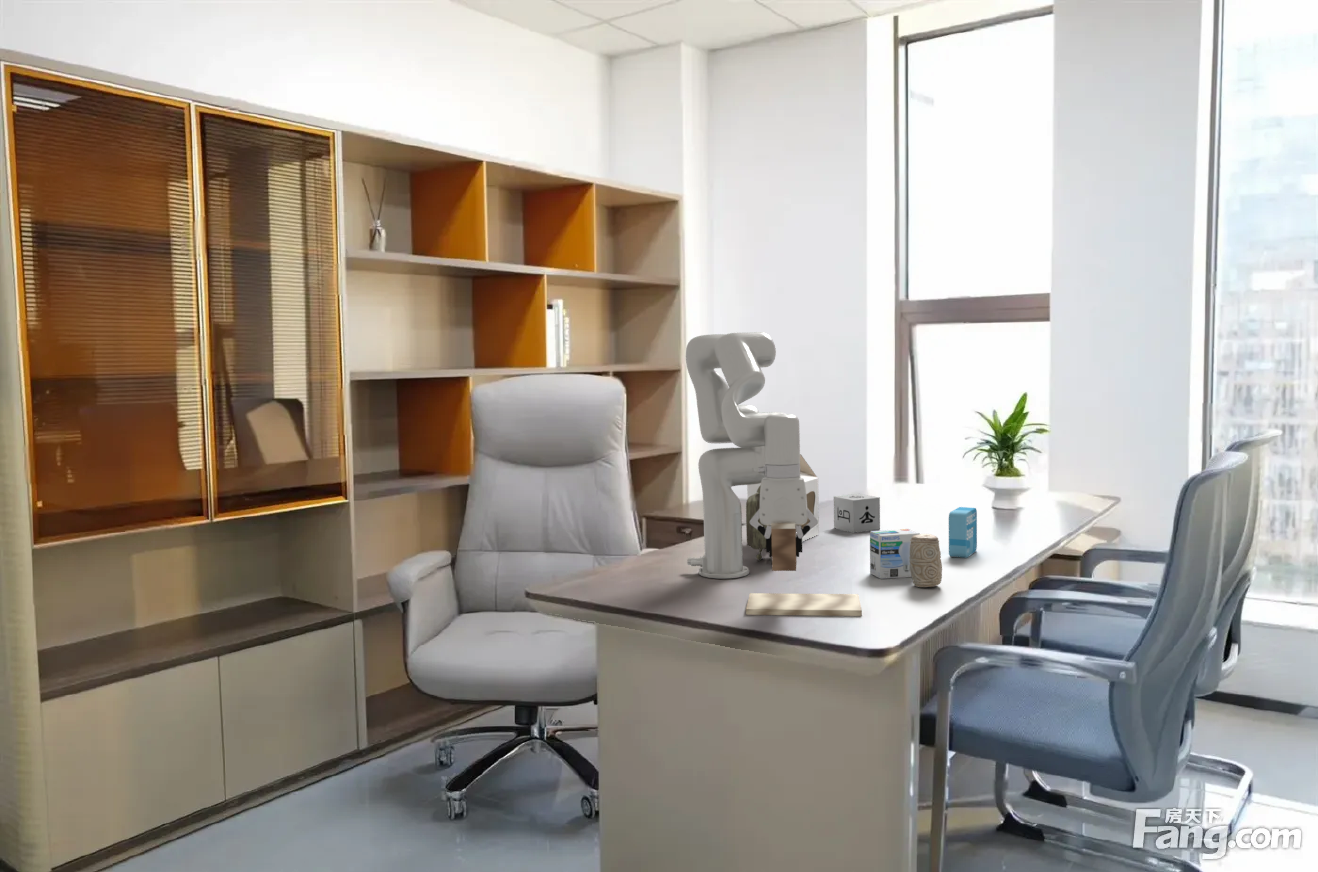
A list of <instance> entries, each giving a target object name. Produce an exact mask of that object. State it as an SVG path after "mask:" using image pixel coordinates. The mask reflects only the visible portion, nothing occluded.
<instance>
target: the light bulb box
mask: <svg viewBox="0 0 1318 872" xmlns="http://www.w3.org/2000/svg"><path fill="white" fill-rule="evenodd" d="M918 534H921V533H920V532H918V531H916V530H912V529H911V528H902V529H887V530H883V529H882V530H873V531H869V561H870V562H869V574H871V575H873V576H874V577H877V578H878V579H881V580H883V579H898V578H899V579H900V578H912V576H911V572H910V561H909V560H910V559H909V557H910V546H911V545H910V543H911V541H910V540H911V539H912V538H911V537H912V536H914V535H918Z"/></svg>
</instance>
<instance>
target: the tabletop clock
mask: <svg viewBox="0 0 1318 872" xmlns="http://www.w3.org/2000/svg"><path fill="white" fill-rule="evenodd" d="M760 487H761V485H760V486H759V488H758V490H757V493H756V494H754V495H752V496H750V497H748V496H747V499H746V503H745V509H746V510H745V515H746V516H745V517H746V518H745V526H746V529H745V532H746V545H747V546H748V547H750V548H752V549H753V550H759V551H758V553H757V555H756V556H755V558H756V560H757V561H761V560H762V559H763V555H762V552H763V550H766V538H765V537H764V536H763V535H762V534H761V533H760V532H759V531H758V530H757V529H756V528H754V527H753V526H752V525H751V524H750V520H751V519H752V517H753V516H754V515H755V514H756V512H757V511H758V510H759V509H760ZM758 523H760V524H761V525H762V526H764V527H765V528H767V525H763V524H762V523H761V522H760V518H759V519H758Z"/></svg>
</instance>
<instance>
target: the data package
mask: <svg viewBox="0 0 1318 872" xmlns="http://www.w3.org/2000/svg"><path fill="white" fill-rule="evenodd" d="M977 517H978V511H977V507H966V506H959V507H957V508H955V509H953V510H952V511H950V512H949V513H948V555H949V557H952V558H962V559H967V558H969V557H970V556H971V555H973V554H974V553H976V552H977V549H978V524H977V523H978V518H977Z"/></svg>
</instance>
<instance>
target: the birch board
mask: <svg viewBox="0 0 1318 872" xmlns="http://www.w3.org/2000/svg"><path fill="white" fill-rule="evenodd" d="M748 595H749V596H748V600H747V604H746V608H745V615H747V616H748V615H749V616H750V615H753V616H821V617H822V616H831V617H833V616H834V617H835V616H836V617H837V616H838V617H862V616H863V615H862V614H863V613H862V612H863V609H862V605H861V600H860V595H859V593H857V594H856V593H779V592H778V593H774V592H773V593H772V592H771V593H770V592H769V593H766V592H765V593H761V592H760V593H758V592H757V593H756V592H755V593H754V592H750V593H749V594H748Z"/></svg>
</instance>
